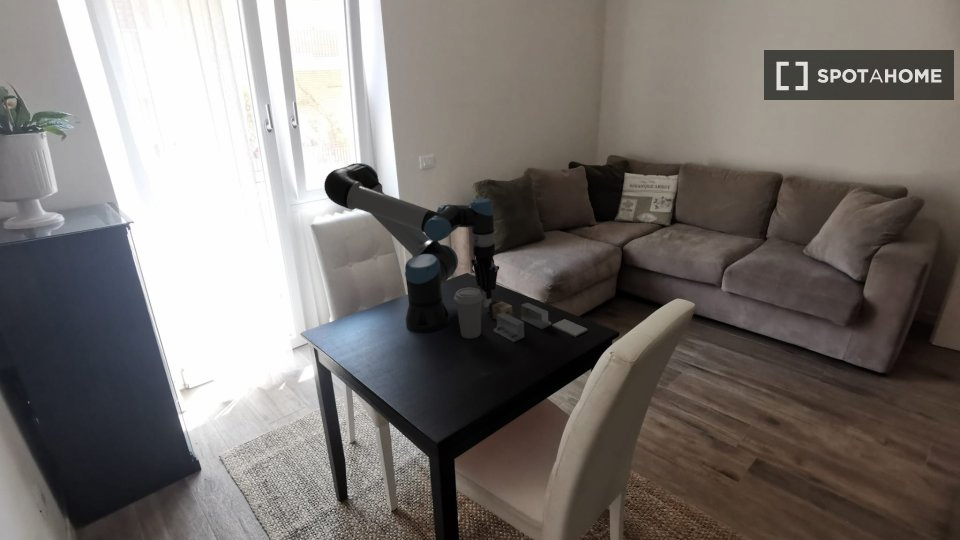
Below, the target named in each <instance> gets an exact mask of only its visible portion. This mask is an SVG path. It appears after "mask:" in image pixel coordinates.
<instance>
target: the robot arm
mask: <svg viewBox="0 0 960 540" xmlns="http://www.w3.org/2000/svg"><path fill="white" fill-rule="evenodd" d="M323 187H324V191H325V194H326V196H327V197H328V199H329V200H330V201H331V202H333V203H334V204H336V205H338V206H340V207H342V208H345V209H348V210H355V209H357V210H361V211H363V212H366V213H369V214H371V215H372V217H374V219H375V220H377V221H378V222H379V223H380V225H382V226H383V228H385V230H387V232H389V233H390V234H391V236H393V238H395V239H396V240H397V242H399V243H400V245H401V246H402V247H403V248H404V249H405V250H406V251H407V252H408V253H410V255H411V256H412V257H411V258H409V259H408V260H407V261H406V262H405V266H404V269H405V271H404V275H405V276H404V277H405V283H406V290H407V298H408V299H407V300H408V307H407V310H406V317H405V325H406V327H407V329H408V330H409V331H412V332H416V333H430V332H433V333H434V332H437V331H440V330H442V329H444V328H446V327H447V326H448V325H449V323H450V314H449V311H448V310H447V307H446V305H445V303H444V300H443V289H442V288H443V287H442V285H444V284H445V283H446V281H447V280H448V279H450V278H451V277H452V276H453V275H454V273H455V272H456V270H457V268H458V264H459V258H458V256H457V252H456V251H455V250H454V249H453V248H452V247H450V245H447V244H441V243H440V241H443V240H444V239H446V238H448V237H449V236H450V234H452V233H453V232H454V231H455V230H457V229H458V228H471V231H472V244H473V245H472V247H473V248H472V249H473V256H474V257H475V258H473V259H471V260H470V261H471V264H472V267H473V272H474V276H475V277H474V278H475V281H476V285H477V287H480V289H481V293H482V295H483V300H482V308H488V307H489V303H492V297H493V296H492V291H493V290H495V289H496V287H497V279H498V274H499V273H498V271H500V266H499V265H496V264H495V260H494V255H495V254H496V244H495V242H496V241H495V240H496V238H495V237H496V236H495V228H494V227H495V225H494V223H495V222H494V219H495V218H494V214H495V212H494V206H493V205H494V204H493V202H492V200H491V199H489V198H484V197H483V198H482V197H481V198H475V199H472V200H470V204H469V205H467V204H466V205H462V204H450V203H449V204H442V205H441V204H440V205H439V206H438V207H437V210H436V211H434V210H431V209H429V208H426V207H422V206H420V205H418V204H417V205H416V204H414V203H411V202H408V201H406V200H403V199H400V198H397V197H394V196H392V195H388V194H386V193H384V192H383V184H382V183H381V182H380V179H379V176H378V173H377V171H376V170H375V169H374V168H373V167H372V166H370V165H369V164H367V163H363V162H358V163H356V162H355V163H351V164H348V165H347V166H344V167H341V168H337V169H333V170H332V171H330V173H328V175H326V178H325V180H324V185H323Z"/></svg>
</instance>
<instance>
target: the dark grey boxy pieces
mask: <svg viewBox="0 0 960 540" xmlns="http://www.w3.org/2000/svg"><path fill="white" fill-rule="evenodd" d="M496 316H497V320H496V327H495V328H493V332H494V333H496V334H497V335H499V336H502V337H503V338H505V339H507V340H509V341H511V342H512V343H515V342H517V341H520V340H521V339H524V338H525V323H528V324H529V325H532V326H534V327H536V328H538V329H541V330H543V329H545V328H548V327H550V326H552V322H551V321H550V320H549V311H548V310H546V309H543V308H541V307H539V306H536V305H534V304H532V303H529V302H526V303H525V302H524V303H522V304H521V305H520V319H521V320H520V319H518V318H516V317H515V316H514V317H512V316H510V315H508V314H506V313H504V312H503V313H500V314H498V315H496Z"/></svg>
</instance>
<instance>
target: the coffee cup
mask: <svg viewBox="0 0 960 540" xmlns="http://www.w3.org/2000/svg"><path fill="white" fill-rule="evenodd" d="M453 301H454V302H455V305H456V306H455V307H456V311H457V317H458V324H459V329H460V330H459V331H460V335H461V337H463V339H475V338H478V337H479V336H480V335H481V334H482V308H483V295H482V291H481V290H480V289H479V288H476V287H464V288H459V289H458V290H457V291H455V294H454V297H453Z"/></svg>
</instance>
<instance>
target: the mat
mask: <svg viewBox="0 0 960 540" xmlns="http://www.w3.org/2000/svg"><path fill="white" fill-rule="evenodd" d="M551 326H552V327H553V328H555V329H557V330H560V331H562V332H564V333H565V334H568V335H570V336H573V337H575V338H576V337H577V336H579V335H581V334H583V333H586V332H588V328H586V327H584V326H582V325H579V324H576V323H575V322H572V321H570V320H567V319H565V318H564V319H562V320H559V321H557V322H554V323H553V324H551Z"/></svg>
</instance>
